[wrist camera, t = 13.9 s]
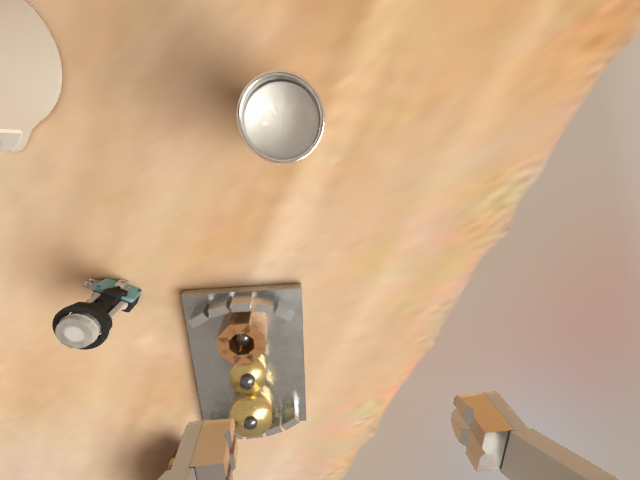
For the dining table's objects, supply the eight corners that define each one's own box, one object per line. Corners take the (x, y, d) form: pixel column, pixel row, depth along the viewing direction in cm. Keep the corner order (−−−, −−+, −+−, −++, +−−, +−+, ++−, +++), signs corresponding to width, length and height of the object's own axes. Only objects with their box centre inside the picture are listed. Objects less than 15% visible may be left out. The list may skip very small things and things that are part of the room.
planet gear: (226, 346, 44) (220, 365, 40) (220, 309, 42) (214, 326, 38) (268, 342, 44) (267, 361, 41) (264, 306, 42) (263, 322, 39)
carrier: (207, 422, 50) (196, 459, 44) (184, 290, 42) (168, 314, 36) (305, 412, 51) (308, 447, 45) (300, 283, 44) (303, 305, 38)
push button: (85, 294, 41) (25, 342, 31) (96, 260, 39) (37, 299, 30) (137, 311, 42) (94, 361, 33) (149, 279, 41) (108, 322, 32)
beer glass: (320, 143, 38) (341, 146, 24) (268, 164, 38) (258, 180, 24) (298, 84, 36) (307, 49, 21) (243, 107, 36) (215, 88, 22)
